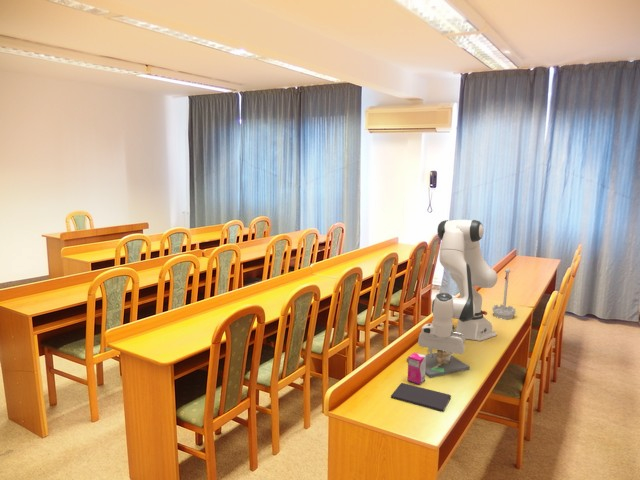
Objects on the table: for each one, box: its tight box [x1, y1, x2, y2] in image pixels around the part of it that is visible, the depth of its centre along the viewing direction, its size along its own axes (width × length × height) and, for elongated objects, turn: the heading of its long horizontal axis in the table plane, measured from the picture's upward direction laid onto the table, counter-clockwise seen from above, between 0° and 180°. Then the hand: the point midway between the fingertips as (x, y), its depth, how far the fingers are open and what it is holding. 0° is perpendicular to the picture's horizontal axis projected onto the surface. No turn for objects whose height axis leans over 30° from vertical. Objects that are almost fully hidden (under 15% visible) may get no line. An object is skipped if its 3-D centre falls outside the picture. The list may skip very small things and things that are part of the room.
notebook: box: [390, 382, 452, 413], centre depth 194 cm, size 13×2×21 cm
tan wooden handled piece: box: [436, 349, 450, 368], centre depth 219 cm, size 14×6×8 cm, turn 151°
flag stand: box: [492, 267, 517, 320], centre depth 288 cm, size 13×13×30 cm
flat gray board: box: [406, 351, 471, 379], centre depth 222 cm, size 22×19×2 cm
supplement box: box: [407, 352, 426, 386], centre depth 207 cm, size 6×6×12 cm
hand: (440, 358), depth 217 cm, fingers open, 6 cm apart
